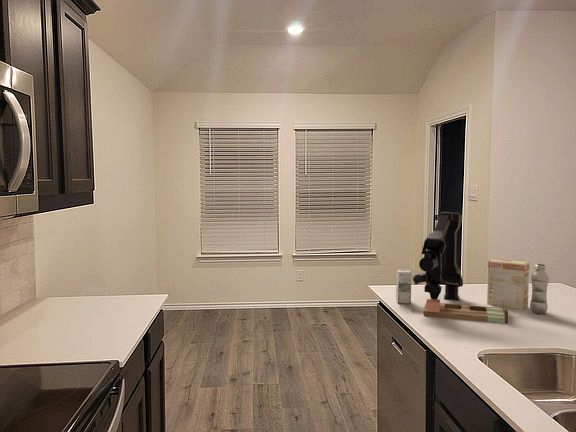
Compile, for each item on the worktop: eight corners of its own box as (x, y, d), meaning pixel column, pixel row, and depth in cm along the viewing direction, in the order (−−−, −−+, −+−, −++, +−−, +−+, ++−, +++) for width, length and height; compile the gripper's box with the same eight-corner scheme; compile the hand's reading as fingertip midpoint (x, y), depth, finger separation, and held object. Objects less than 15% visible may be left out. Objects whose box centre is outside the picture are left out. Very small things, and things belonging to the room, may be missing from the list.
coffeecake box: (528, 307, 201) (530, 262, 200) (523, 310, 196) (524, 264, 195) (492, 300, 212) (493, 258, 210) (486, 304, 206) (487, 260, 205)
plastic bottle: (546, 311, 194) (548, 263, 193) (548, 316, 188) (550, 266, 186) (529, 309, 197) (531, 262, 195) (530, 314, 191) (531, 265, 189)
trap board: (426, 306, 204) (426, 294, 203) (504, 313, 193) (504, 301, 193) (423, 315, 190) (423, 303, 190) (507, 323, 179) (508, 310, 179)
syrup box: (408, 300, 213) (409, 269, 212) (411, 304, 207) (411, 271, 206) (396, 300, 214) (396, 268, 212) (397, 303, 208) (398, 271, 207)
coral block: (427, 307, 194) (427, 298, 194) (439, 309, 192) (440, 299, 192) (426, 311, 189) (426, 301, 189) (439, 312, 188) (439, 302, 187)
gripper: (416, 262, 205) (415, 297, 206) (411, 270, 188) (411, 309, 189) (443, 263, 201) (442, 299, 202) (441, 272, 184) (440, 311, 185)
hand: (433, 304), depth 195 cm, fingers closed
